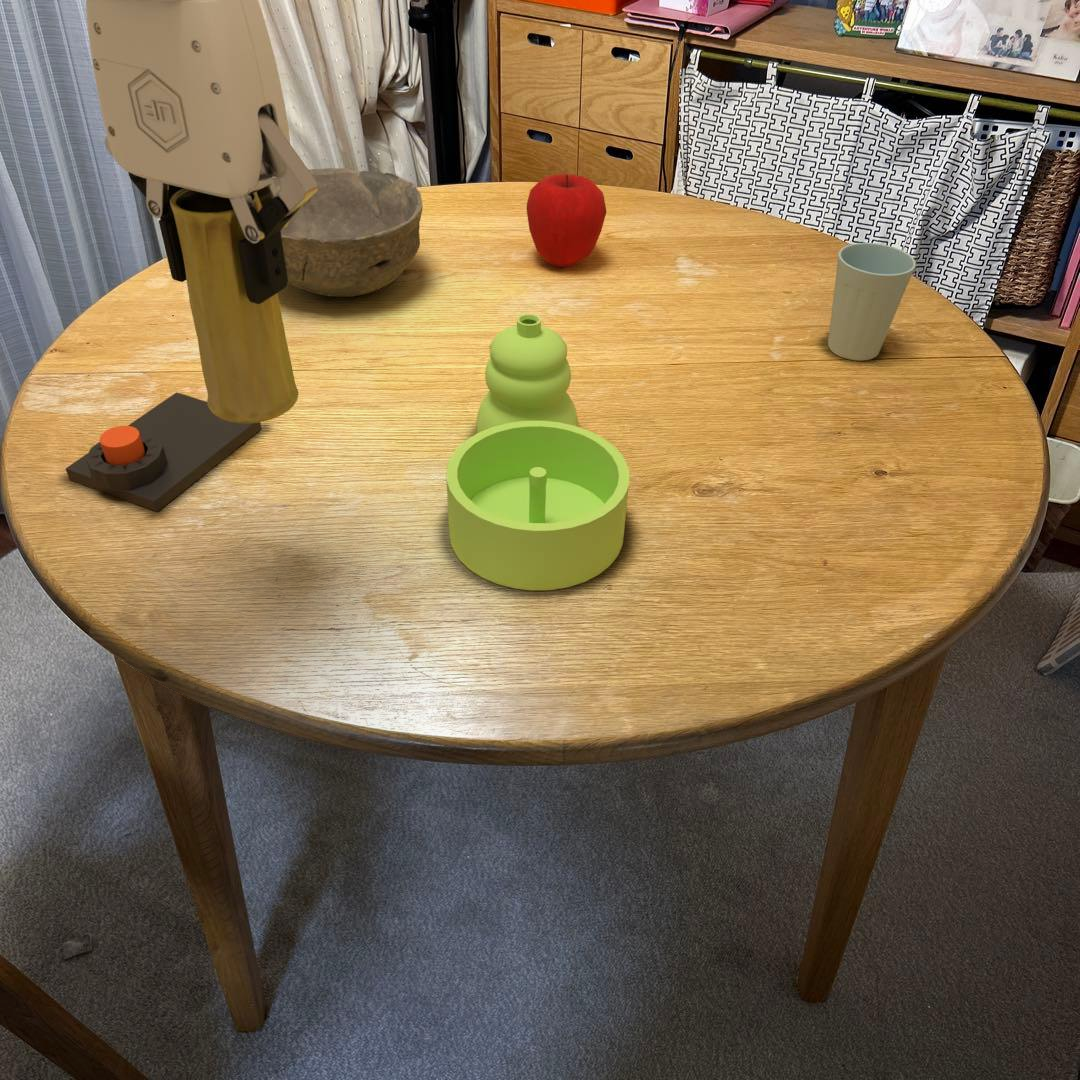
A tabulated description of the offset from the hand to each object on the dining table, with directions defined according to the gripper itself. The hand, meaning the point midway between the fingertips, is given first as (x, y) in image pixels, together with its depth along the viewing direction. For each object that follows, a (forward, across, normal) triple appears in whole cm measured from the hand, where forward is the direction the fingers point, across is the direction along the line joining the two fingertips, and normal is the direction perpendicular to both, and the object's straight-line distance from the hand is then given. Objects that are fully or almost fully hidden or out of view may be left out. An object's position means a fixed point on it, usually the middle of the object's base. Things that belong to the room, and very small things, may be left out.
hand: (230, 281), depth 61 cm
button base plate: (+24, -19, +7) cm, 31 cm away
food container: (+24, +13, +18) cm, 33 cm away
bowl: (+24, -25, +43) cm, 55 cm away
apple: (+24, -5, +61) cm, 66 cm away
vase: (+9, 0, 0) cm, 9 cm away
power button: (+22, -19, +3) cm, 29 cm away
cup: (+24, +32, +57) cm, 70 cm away
